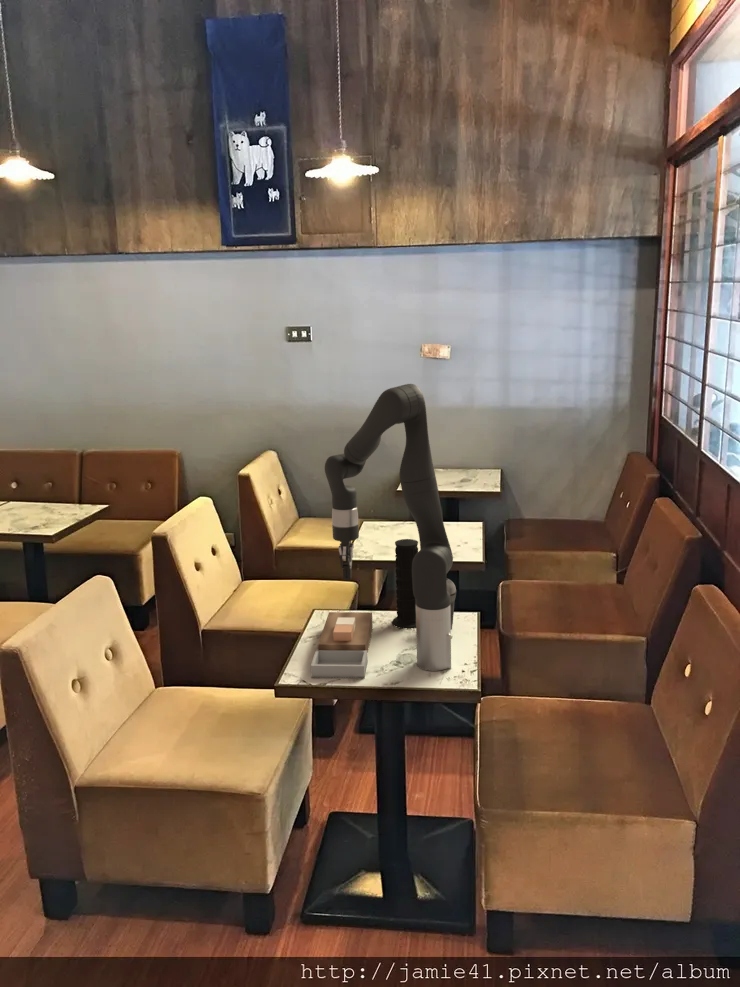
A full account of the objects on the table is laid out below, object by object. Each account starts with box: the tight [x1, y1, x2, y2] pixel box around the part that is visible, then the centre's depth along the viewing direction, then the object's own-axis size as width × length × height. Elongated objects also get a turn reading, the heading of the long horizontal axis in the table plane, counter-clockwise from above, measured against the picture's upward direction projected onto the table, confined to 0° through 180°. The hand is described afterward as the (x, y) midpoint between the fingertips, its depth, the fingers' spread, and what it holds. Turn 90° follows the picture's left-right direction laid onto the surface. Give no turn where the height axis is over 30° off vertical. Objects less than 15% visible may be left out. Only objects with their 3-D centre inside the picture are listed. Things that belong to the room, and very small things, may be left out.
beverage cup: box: [446, 577, 457, 631], centre depth 241 cm, size 7×7×20 cm
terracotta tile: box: [333, 625, 354, 641], centre depth 227 cm, size 5×5×2 cm
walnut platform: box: [317, 611, 374, 653], centre depth 234 cm, size 13×23×5 cm, turn 175°
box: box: [310, 649, 368, 679], centre depth 218 cm, size 14×10×4 cm
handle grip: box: [391, 538, 419, 630], centre depth 246 cm, size 10×26×10 cm
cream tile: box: [336, 617, 355, 633], centre depth 232 cm, size 5×5×2 cm
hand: (347, 579), depth 238 cm, fingers closed
